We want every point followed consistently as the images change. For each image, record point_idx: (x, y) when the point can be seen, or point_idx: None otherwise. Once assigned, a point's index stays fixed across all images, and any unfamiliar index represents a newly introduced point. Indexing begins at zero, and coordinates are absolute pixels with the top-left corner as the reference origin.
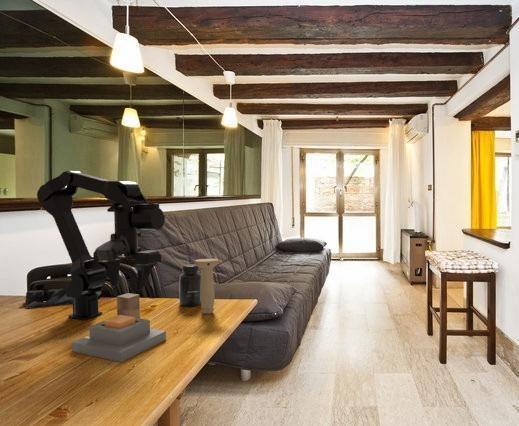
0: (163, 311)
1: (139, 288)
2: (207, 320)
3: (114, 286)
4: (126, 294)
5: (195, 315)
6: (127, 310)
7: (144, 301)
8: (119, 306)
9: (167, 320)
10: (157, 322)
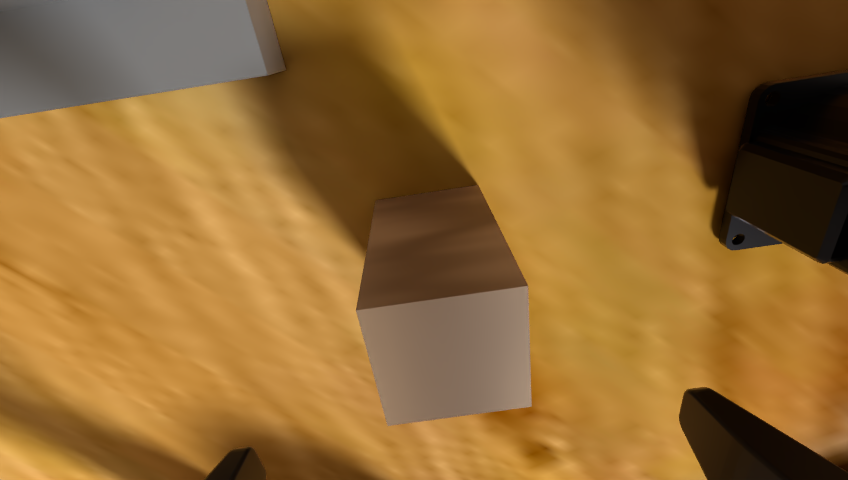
0: (417, 429)
1: (227, 461)
2: (103, 443)
3: (684, 398)
4: (502, 376)
5: None
6: (380, 241)
7: (644, 472)
8: (474, 240)
9: (260, 357)
10: (271, 312)
